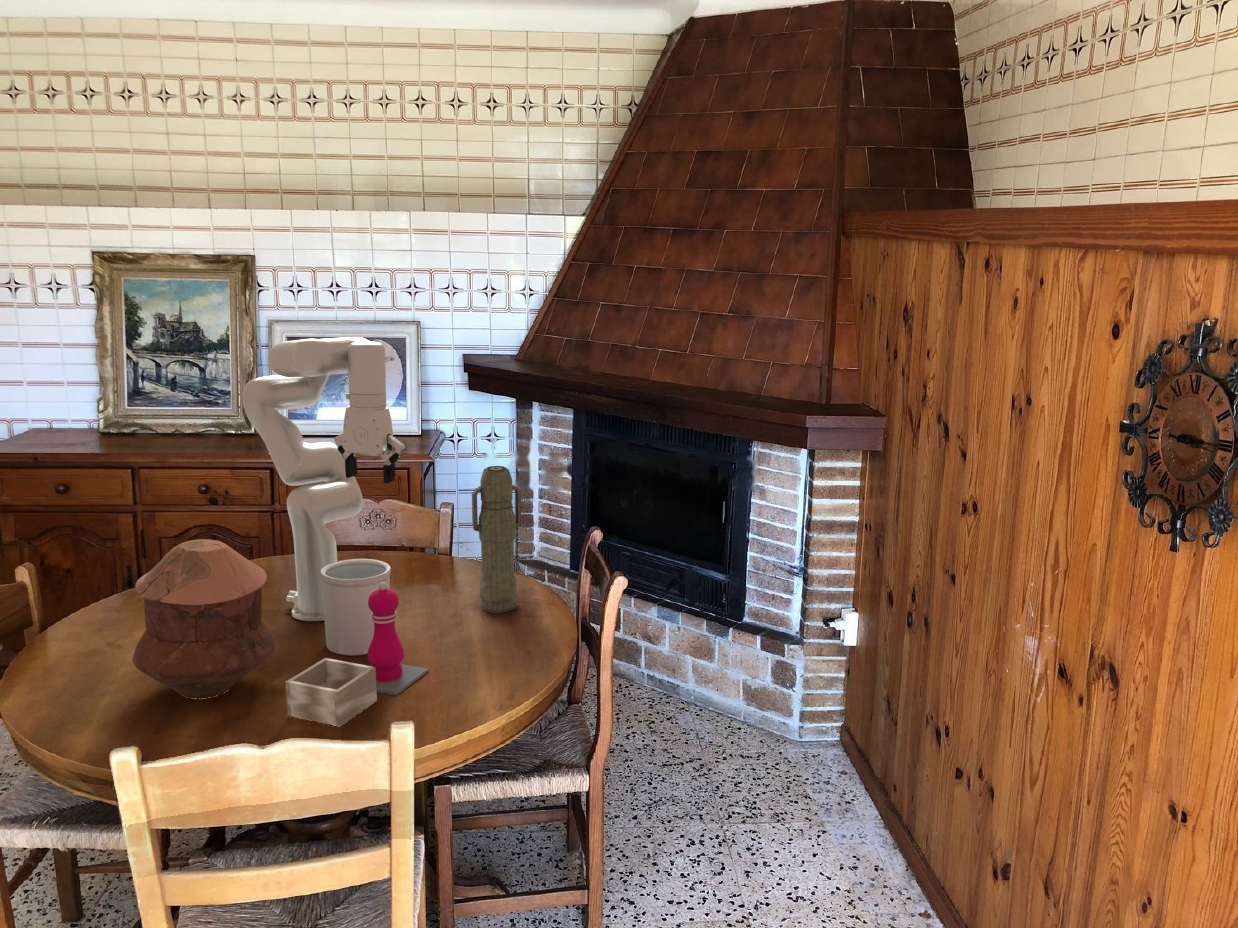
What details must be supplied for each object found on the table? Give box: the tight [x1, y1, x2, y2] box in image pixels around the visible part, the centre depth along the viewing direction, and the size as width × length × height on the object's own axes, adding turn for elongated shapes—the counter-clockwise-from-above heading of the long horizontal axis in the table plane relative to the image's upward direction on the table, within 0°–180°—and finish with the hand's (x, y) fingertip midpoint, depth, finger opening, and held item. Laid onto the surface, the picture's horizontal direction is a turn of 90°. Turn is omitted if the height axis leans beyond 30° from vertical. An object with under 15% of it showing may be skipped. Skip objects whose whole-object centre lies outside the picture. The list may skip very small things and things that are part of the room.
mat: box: [370, 663, 429, 696], centre depth 193 cm, size 12×12×1 cm
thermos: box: [471, 465, 522, 614], centre depth 230 cm, size 9×12×35 cm
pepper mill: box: [367, 582, 405, 682], centre depth 191 cm, size 7×7×20 cm
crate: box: [285, 657, 378, 728], centre depth 179 cm, size 12×12×7 cm
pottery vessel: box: [132, 538, 276, 699], centre depth 184 cm, size 26×26×30 cm
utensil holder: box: [321, 558, 392, 656], centre depth 209 cm, size 15×15×18 cm
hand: (370, 479), depth 203 cm, fingers open, 9 cm apart
